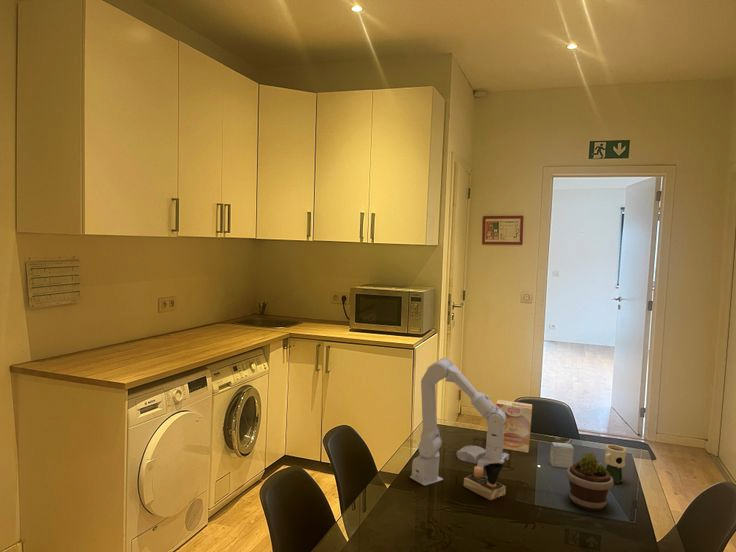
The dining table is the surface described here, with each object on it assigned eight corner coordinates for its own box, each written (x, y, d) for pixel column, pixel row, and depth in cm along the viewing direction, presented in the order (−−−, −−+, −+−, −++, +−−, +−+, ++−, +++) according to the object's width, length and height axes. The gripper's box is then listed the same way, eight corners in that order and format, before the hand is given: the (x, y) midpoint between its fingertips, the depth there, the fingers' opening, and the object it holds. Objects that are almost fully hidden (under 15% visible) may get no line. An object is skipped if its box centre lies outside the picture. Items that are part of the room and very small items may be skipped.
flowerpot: (571, 489, 190) (576, 435, 189) (616, 504, 181) (621, 447, 180) (557, 503, 179) (562, 445, 178) (604, 519, 169) (610, 459, 168)
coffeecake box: (492, 447, 228) (496, 403, 227) (493, 441, 235) (497, 398, 234) (528, 453, 224) (532, 408, 223) (528, 447, 231) (532, 403, 230)
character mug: (612, 487, 194) (615, 453, 194) (595, 479, 201) (598, 446, 200) (630, 482, 200) (633, 449, 199) (613, 475, 206) (616, 442, 205)
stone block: (454, 462, 213) (477, 465, 207) (453, 450, 214) (475, 452, 208) (467, 455, 223) (489, 457, 217) (466, 444, 223) (488, 445, 217)
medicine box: (569, 464, 214) (571, 443, 214) (572, 468, 210) (574, 447, 209) (549, 462, 215) (551, 441, 214) (552, 466, 210) (553, 445, 210)
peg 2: (491, 495, 180) (492, 485, 180) (484, 491, 183) (485, 482, 183) (497, 493, 182) (498, 483, 182) (490, 489, 185) (490, 480, 185)
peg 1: (478, 480, 185) (479, 470, 185) (471, 476, 188) (472, 467, 187) (484, 478, 187) (485, 468, 187) (477, 474, 189) (478, 465, 189)
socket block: (490, 500, 178) (490, 489, 178) (463, 486, 187) (464, 476, 187) (505, 494, 183) (505, 484, 183) (478, 481, 192) (479, 471, 192)
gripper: (490, 452, 174) (487, 492, 175) (517, 445, 183) (514, 483, 184) (473, 445, 180) (470, 484, 180) (500, 438, 189) (498, 475, 189)
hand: (491, 483), depth 182 cm, fingers closed, pressing on peg 2
